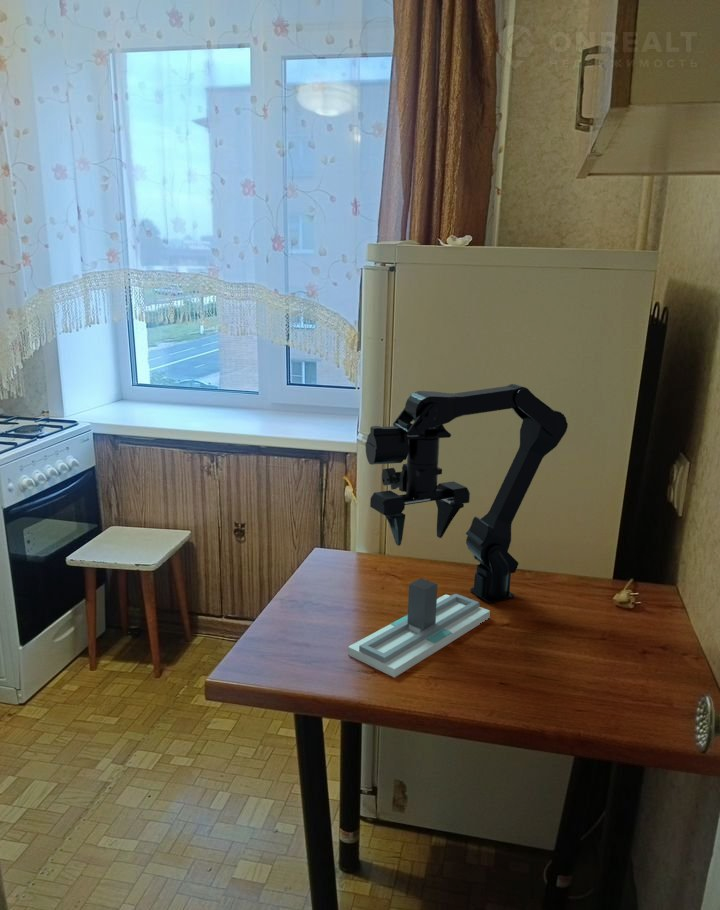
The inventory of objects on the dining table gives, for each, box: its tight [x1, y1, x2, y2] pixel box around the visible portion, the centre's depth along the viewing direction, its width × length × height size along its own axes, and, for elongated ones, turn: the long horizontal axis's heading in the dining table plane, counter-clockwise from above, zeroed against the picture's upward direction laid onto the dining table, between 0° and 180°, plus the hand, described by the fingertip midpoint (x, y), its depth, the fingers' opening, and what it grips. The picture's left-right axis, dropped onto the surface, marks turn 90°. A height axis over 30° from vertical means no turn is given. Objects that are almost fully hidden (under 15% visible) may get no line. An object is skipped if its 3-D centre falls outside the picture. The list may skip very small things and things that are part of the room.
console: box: [347, 593, 491, 679], centre depth 128 cm, size 28×10×2 cm, turn 138°
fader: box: [407, 577, 439, 633], centre depth 127 cm, size 4×4×8 cm
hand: (419, 541), depth 137 cm, fingers open, 9 cm apart
